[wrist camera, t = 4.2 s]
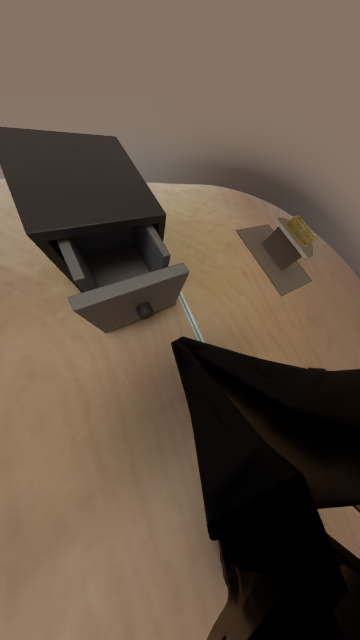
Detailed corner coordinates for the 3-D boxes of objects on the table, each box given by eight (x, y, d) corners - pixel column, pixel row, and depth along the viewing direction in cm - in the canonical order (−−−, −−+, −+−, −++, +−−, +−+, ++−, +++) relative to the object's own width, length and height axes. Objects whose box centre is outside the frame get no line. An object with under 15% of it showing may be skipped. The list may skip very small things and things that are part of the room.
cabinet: (159, 273, 21) (166, 214, 13) (85, 296, 17) (25, 233, 9) (127, 218, 23) (116, 136, 15) (55, 228, 19) (-16, 124, 11)
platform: (268, 224, 33) (295, 193, 27) (312, 280, 30) (353, 260, 24) (235, 230, 29) (258, 195, 23) (281, 296, 26) (321, 275, 20)
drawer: (179, 310, 19) (196, 281, 12) (109, 342, 15) (78, 326, 9) (141, 245, 21) (138, 189, 14) (73, 260, 18) (26, 195, 11)
